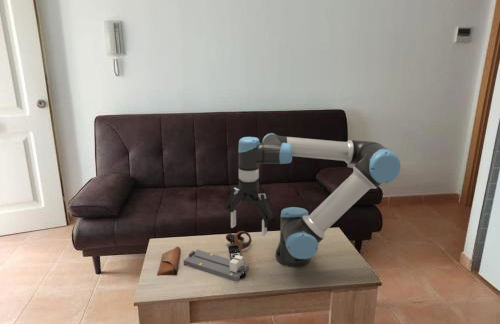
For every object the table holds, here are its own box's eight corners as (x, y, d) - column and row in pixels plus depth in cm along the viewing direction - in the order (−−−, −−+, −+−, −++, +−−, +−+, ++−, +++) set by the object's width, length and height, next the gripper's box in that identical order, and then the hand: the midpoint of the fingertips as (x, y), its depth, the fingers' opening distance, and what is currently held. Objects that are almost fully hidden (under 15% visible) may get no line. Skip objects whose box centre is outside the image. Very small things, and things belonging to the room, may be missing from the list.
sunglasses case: (161, 252, 165) (168, 241, 164) (175, 259, 167) (182, 247, 166) (156, 276, 148) (163, 263, 147) (171, 283, 150) (179, 270, 148)
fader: (243, 265, 152) (243, 256, 151) (236, 272, 147) (236, 263, 146) (236, 263, 153) (236, 254, 152) (229, 270, 148) (229, 261, 147)
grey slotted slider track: (248, 269, 154) (248, 262, 153) (236, 281, 145) (236, 274, 144) (197, 253, 165) (197, 247, 164) (183, 264, 157) (183, 257, 156)
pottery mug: (249, 240, 178) (253, 231, 172) (247, 257, 171) (251, 248, 165) (225, 235, 176) (228, 225, 171) (222, 252, 170) (226, 242, 164)
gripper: (283, 181, 134) (282, 233, 140) (225, 170, 145) (226, 219, 151) (275, 187, 128) (273, 242, 134) (215, 176, 139) (216, 227, 145)
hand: (248, 230), depth 143 cm, fingers open, 13 cm apart
